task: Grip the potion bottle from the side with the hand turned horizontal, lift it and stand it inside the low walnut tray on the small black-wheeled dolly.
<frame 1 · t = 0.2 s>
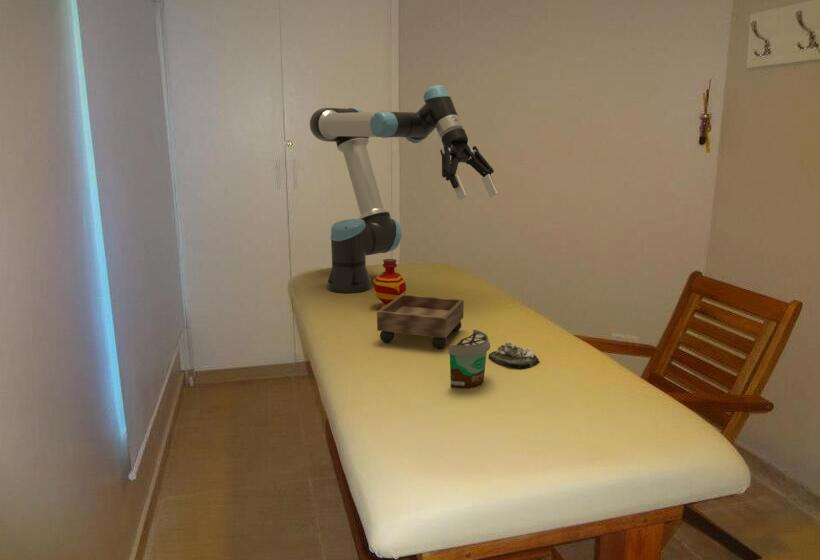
hand: (478, 196, 176), 34 cm above the table, tool tilted 35°, fingers open, 13 cm apart
grey lumpy piece: (513, 362, 143), on the table
potion bottle: (389, 308, 186), on the table
dolly: (421, 336, 159), on the table
food container: (473, 383, 130), on the table
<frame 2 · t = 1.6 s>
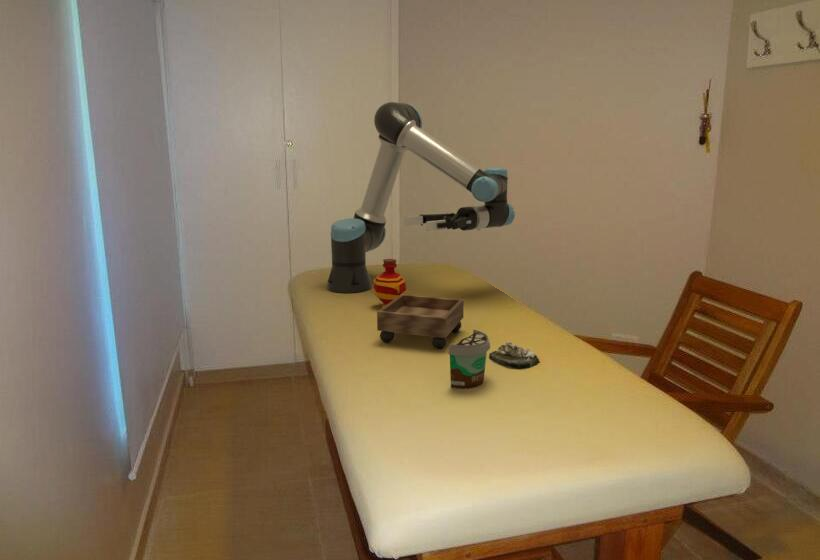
hand: (415, 223, 185), 25 cm above the table, tool horizontal, fingers open, 13 cm apart
nothing on the table moved.
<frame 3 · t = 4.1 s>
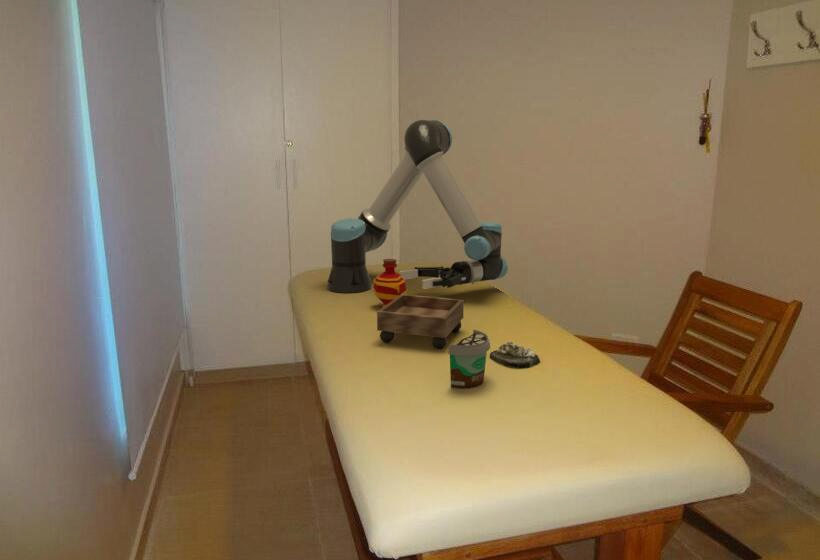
hand: (410, 280, 188), 8 cm above the table, tool horizontal, fingers open, 13 cm apart
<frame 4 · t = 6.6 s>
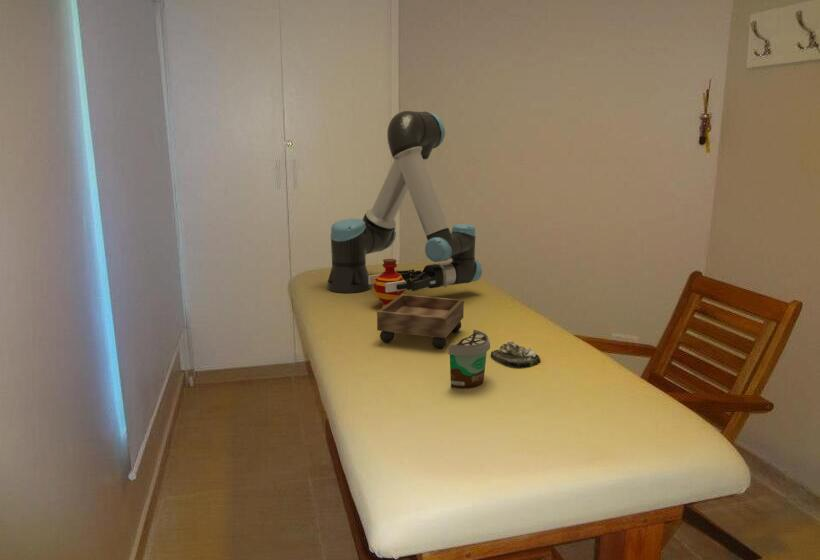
hand: (377, 283, 182), 8 cm above the table, tool horizontal, fingers closed on potion bottle, 10 cm apart
potion bottle: (389, 307, 186), on the table, touching gripper
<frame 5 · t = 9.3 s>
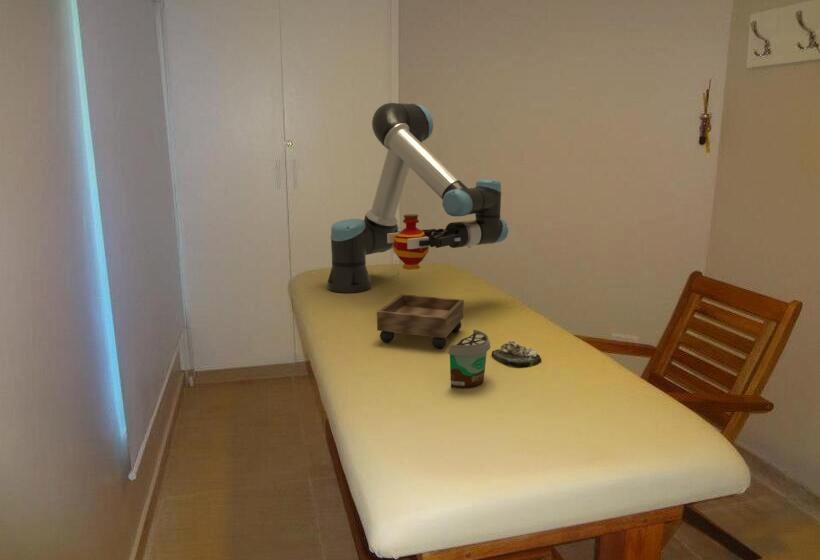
hand: (397, 241, 167), 23 cm above the table, tool horizontal, fingers closed on potion bottle, 10 cm apart
potion bottle: (410, 268, 171), point 15 cm above the table, touching gripper
when the fingers open (15 cm above the table, at t = 12.2 s): potion bottle drops 1 cm, resting on dolly.
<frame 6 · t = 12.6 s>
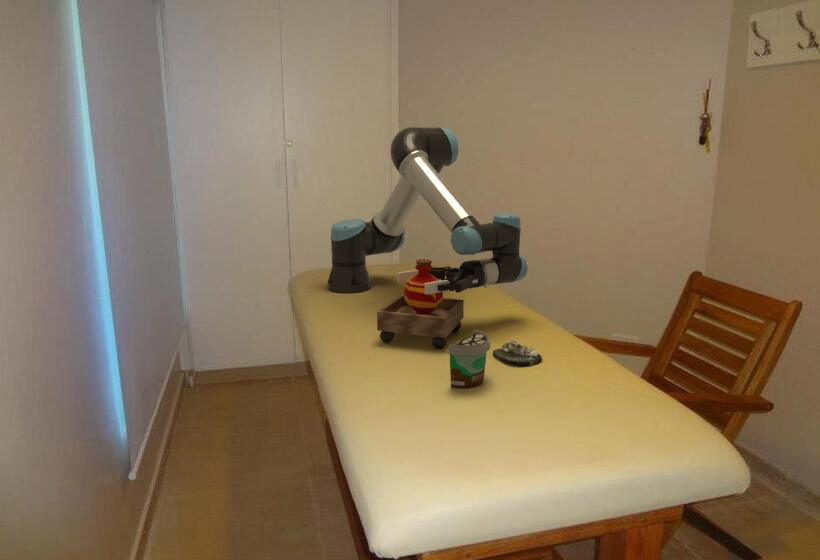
hand: (411, 283, 154), 15 cm above the table, tool horizontal, fingers open, 13 cm apart
potion bottle: (422, 317, 158), point 5 cm above the table, touching dolly
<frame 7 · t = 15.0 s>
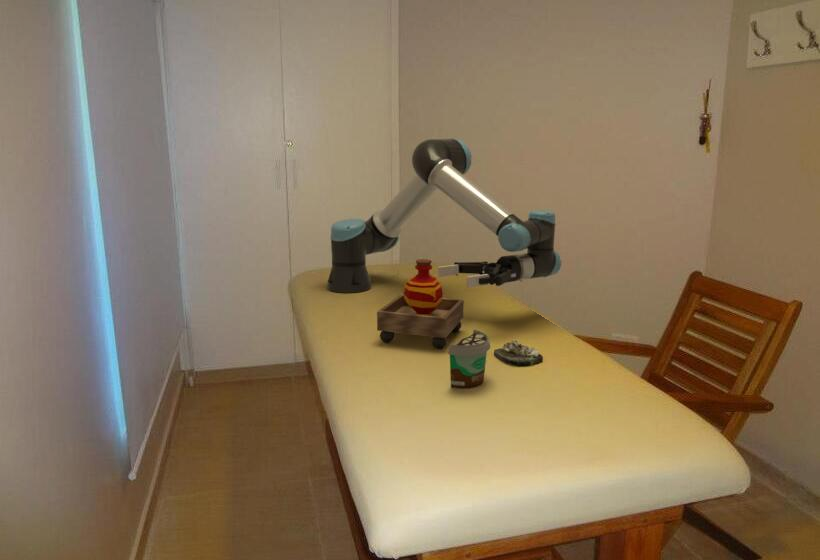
hand: (452, 276, 160), 15 cm above the table, tool horizontal, fingers open, 13 cm apart
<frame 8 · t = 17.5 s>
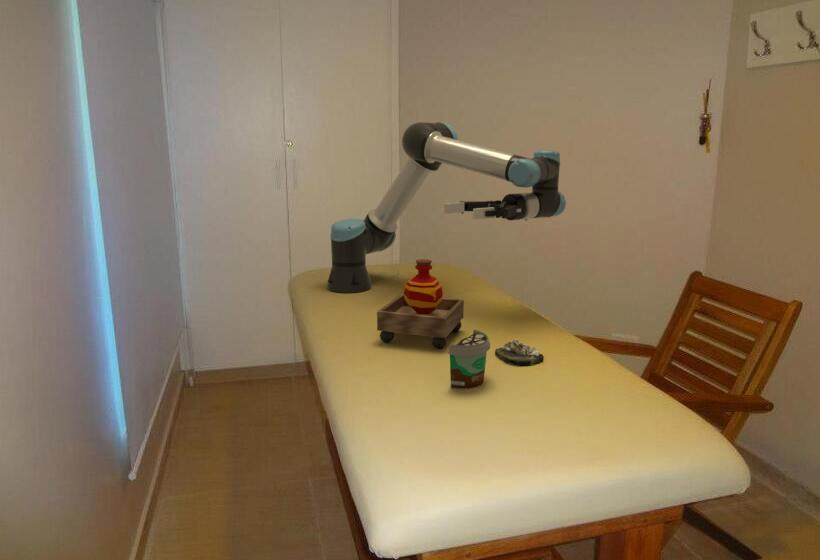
hand: (458, 211, 162), 32 cm above the table, tool horizontal, fingers open, 13 cm apart
at the end: potion bottle inside the target area on the dolly (0.3 cm from its centre), point 5.4 cm above the dolly's base; potion bottle tilted 0°; the gripper is holding nothing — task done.
